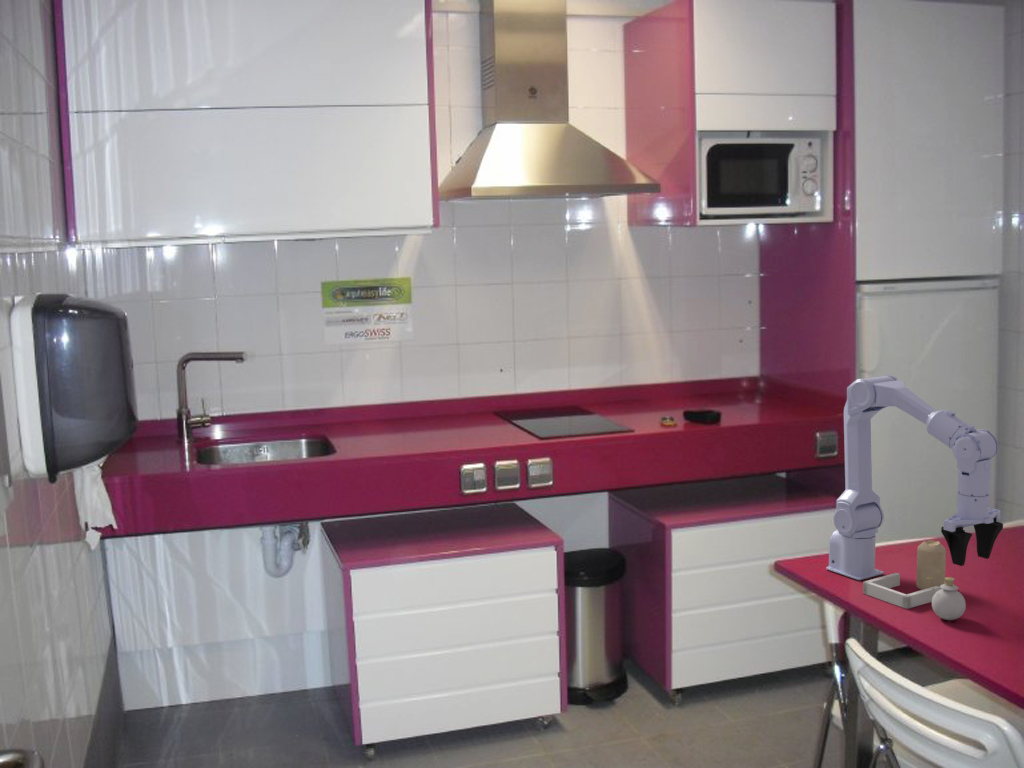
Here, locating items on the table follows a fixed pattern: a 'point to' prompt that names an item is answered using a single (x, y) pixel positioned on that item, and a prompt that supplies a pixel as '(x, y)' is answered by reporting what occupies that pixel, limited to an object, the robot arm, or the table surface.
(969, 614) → the table surface
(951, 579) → the round potion bottle
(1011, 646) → the table surface
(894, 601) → the box
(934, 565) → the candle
